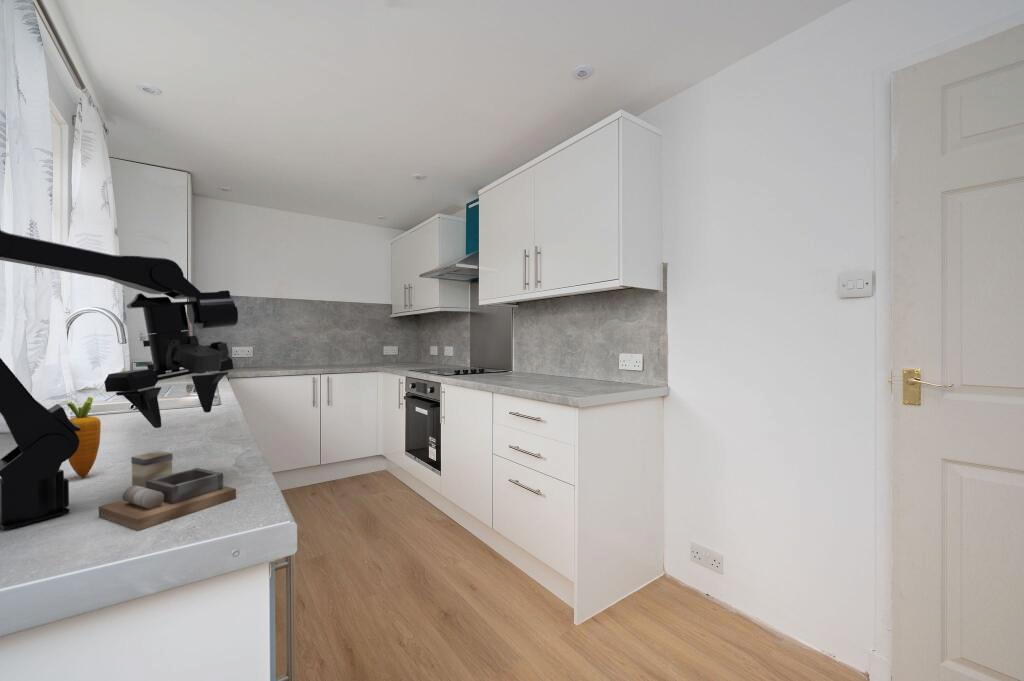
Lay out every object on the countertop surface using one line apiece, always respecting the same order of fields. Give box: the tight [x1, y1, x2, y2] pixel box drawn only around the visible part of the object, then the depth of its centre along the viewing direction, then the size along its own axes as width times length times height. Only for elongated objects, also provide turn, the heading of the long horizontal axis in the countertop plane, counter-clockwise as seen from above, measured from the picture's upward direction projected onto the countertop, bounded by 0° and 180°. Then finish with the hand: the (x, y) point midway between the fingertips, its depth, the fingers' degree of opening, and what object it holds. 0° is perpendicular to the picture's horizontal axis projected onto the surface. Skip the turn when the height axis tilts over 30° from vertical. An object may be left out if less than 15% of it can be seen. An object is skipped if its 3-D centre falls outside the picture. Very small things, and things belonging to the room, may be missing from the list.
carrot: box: [66, 396, 102, 478], centre depth 81 cm, size 5×5×15 cm
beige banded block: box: [130, 450, 173, 488], centre depth 74 cm, size 4×4×6 cm
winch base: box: [98, 467, 237, 531], centre depth 66 cm, size 13×11×4 cm
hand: (184, 419), depth 76 cm, fingers open, 9 cm apart
